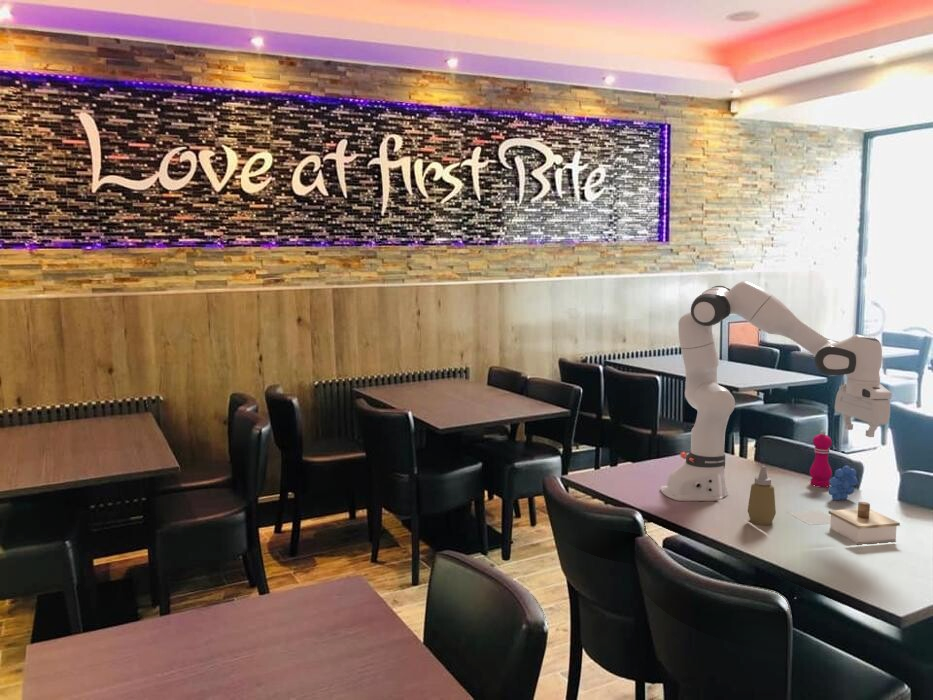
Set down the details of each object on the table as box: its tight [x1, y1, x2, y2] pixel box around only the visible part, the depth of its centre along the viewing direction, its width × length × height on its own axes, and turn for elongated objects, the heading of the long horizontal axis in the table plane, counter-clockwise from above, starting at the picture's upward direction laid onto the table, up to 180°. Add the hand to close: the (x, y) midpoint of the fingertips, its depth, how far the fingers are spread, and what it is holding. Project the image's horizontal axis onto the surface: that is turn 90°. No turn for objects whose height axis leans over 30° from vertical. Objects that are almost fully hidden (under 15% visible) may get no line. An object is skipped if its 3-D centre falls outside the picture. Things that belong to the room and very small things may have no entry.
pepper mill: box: [809, 430, 833, 488], centre depth 259 cm, size 7×7×20 cm
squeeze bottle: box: [747, 465, 777, 526], centre depth 222 cm, size 8×8×18 cm
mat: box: [788, 510, 831, 526], centre depth 226 cm, size 11×11×1 cm
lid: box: [828, 501, 901, 529], centre depth 212 cm, size 13×13×5 cm
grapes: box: [827, 465, 859, 501], centre depth 243 cm, size 12×7×12 cm, turn 110°
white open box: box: [829, 514, 898, 546], centre depth 212 cm, size 12×12×5 cm
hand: (858, 433), depth 222 cm, fingers open, 8 cm apart
